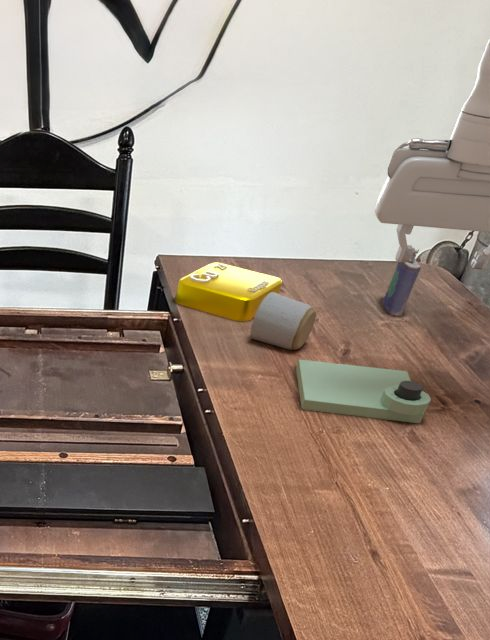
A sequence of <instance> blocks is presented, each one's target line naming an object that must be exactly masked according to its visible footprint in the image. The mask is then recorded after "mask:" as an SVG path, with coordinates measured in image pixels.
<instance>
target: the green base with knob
mask: <svg viewBox="0 0 490 640" xmlns="http://www.w3.org/2000/svg"><path fill="white" fill-rule="evenodd" d="M295 373H296V379H297V387H298V393H299V400H300V407H301V410H305V411H314V412H322V413H330V414H338V415H345V416H355V417H364V418H371V419H379V420H388V421H395V422H406V423H412V424H421V422H422V420H423V418H424V415H425V412H426V411H427V410H428V408H429V405H430V403H431V401H432V399H431V396H430V395H429V393H427V392H425V391H424V390H422V392H421V394H420V396H419V399H418V400H416V401H409V400H404V399H401V398H399V397H397V396H396V395H395V394H396V391H397V389H398V387H399V384H400V382H402V381H412V380H411V378H410V375H409V373H408V371H407V370H400V369H389V368H380V367H373V366H372V367H371V366H362V365H354V364H346V363H345V364H344V363H335V362H325V361H317V360H309V359H298V360H297V364H296V366H295Z"/></svg>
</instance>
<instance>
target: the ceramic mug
mask: <svg viewBox="0 0 490 640" xmlns="http://www.w3.org/2000/svg"><path fill="white" fill-rule="evenodd" d="M316 311H317V310H316V309H315V308H314V307H313V306H311V305H310V304H307V303H305V302H302V301H299V300H296V299H293V298H290V297H288V296H285V295H282V294H280V293H279V294H277V293H275V292H271V293H269V294H268V295H267V296H266V297H265V298H264V299H263V301H262V302H261V304H260V306H259V308H258V310H257V312H256V315H255V317H254V318H253V321H252V324H251V328H250V337H251V339H252V340H255V341H258V342H261V343H264V344H268V345H271V346H275V347H278V348H282V349H285V350H290V351H296V350H298V349H300V348H302V347H303V345H304V344H305V343H306V341H307V340H308V338H309V336H310V334H311V332H312V330H313V328H314V326H315V323H316V318H317V312H316Z"/></svg>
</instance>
